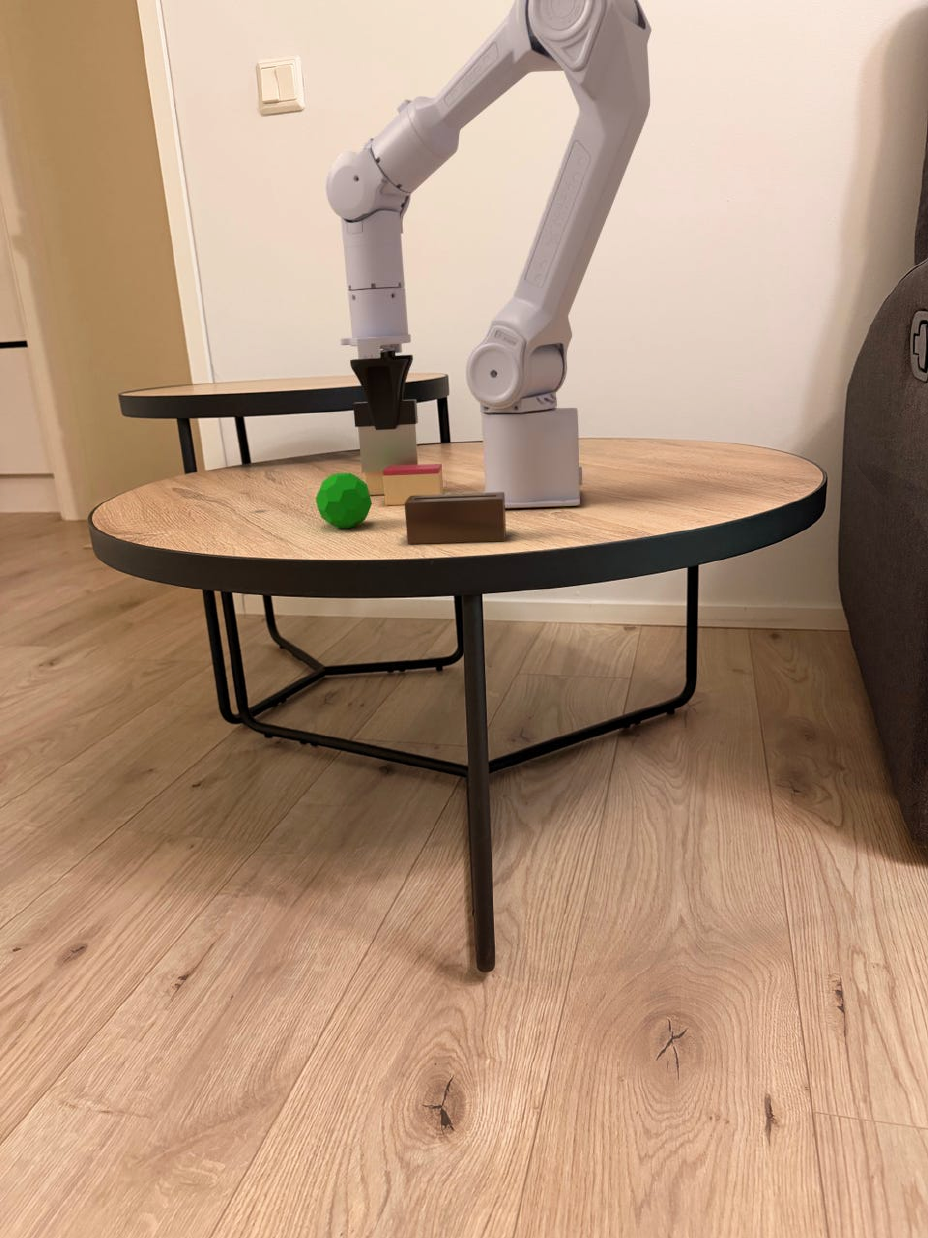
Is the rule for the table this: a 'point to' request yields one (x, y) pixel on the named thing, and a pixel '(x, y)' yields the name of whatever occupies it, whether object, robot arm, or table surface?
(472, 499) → the knife block
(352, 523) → the polyhedron
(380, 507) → the table surface
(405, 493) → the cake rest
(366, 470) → the beige and brown block
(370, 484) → the cake slice
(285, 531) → the table surface
